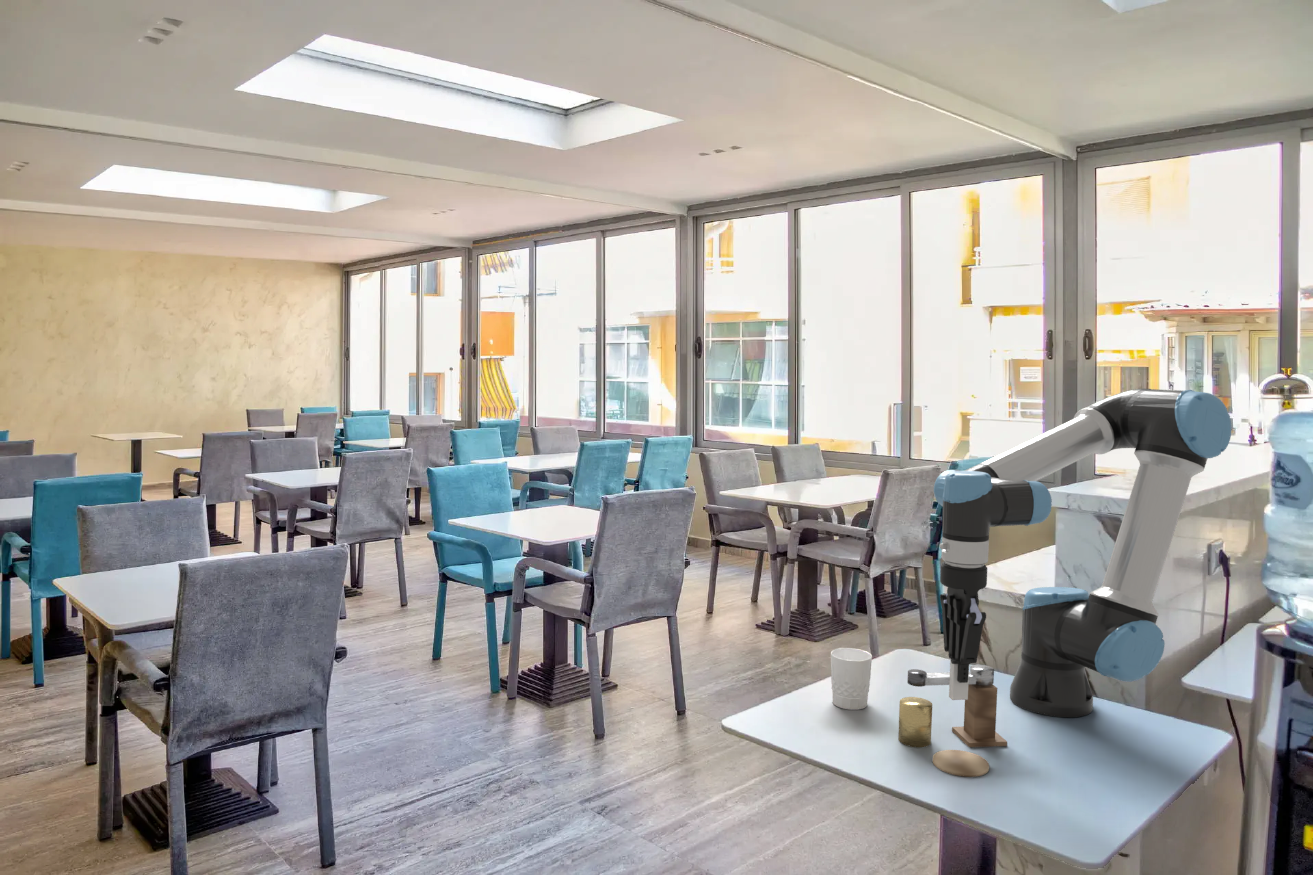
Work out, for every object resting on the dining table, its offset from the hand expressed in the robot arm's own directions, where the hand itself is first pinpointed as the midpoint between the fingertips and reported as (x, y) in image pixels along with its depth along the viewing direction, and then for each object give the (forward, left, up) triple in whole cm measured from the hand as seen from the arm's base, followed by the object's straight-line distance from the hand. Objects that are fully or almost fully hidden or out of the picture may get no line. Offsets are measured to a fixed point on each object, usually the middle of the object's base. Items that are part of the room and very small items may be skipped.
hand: (958, 698), depth 158 cm
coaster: (+1, +4, -10) cm, 11 cm away
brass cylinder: (+5, -6, -10) cm, 13 cm away
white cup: (+11, -24, -10) cm, 28 cm away
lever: (-1, -6, +1) cm, 6 cm away
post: (-7, -6, -10) cm, 13 cm away
